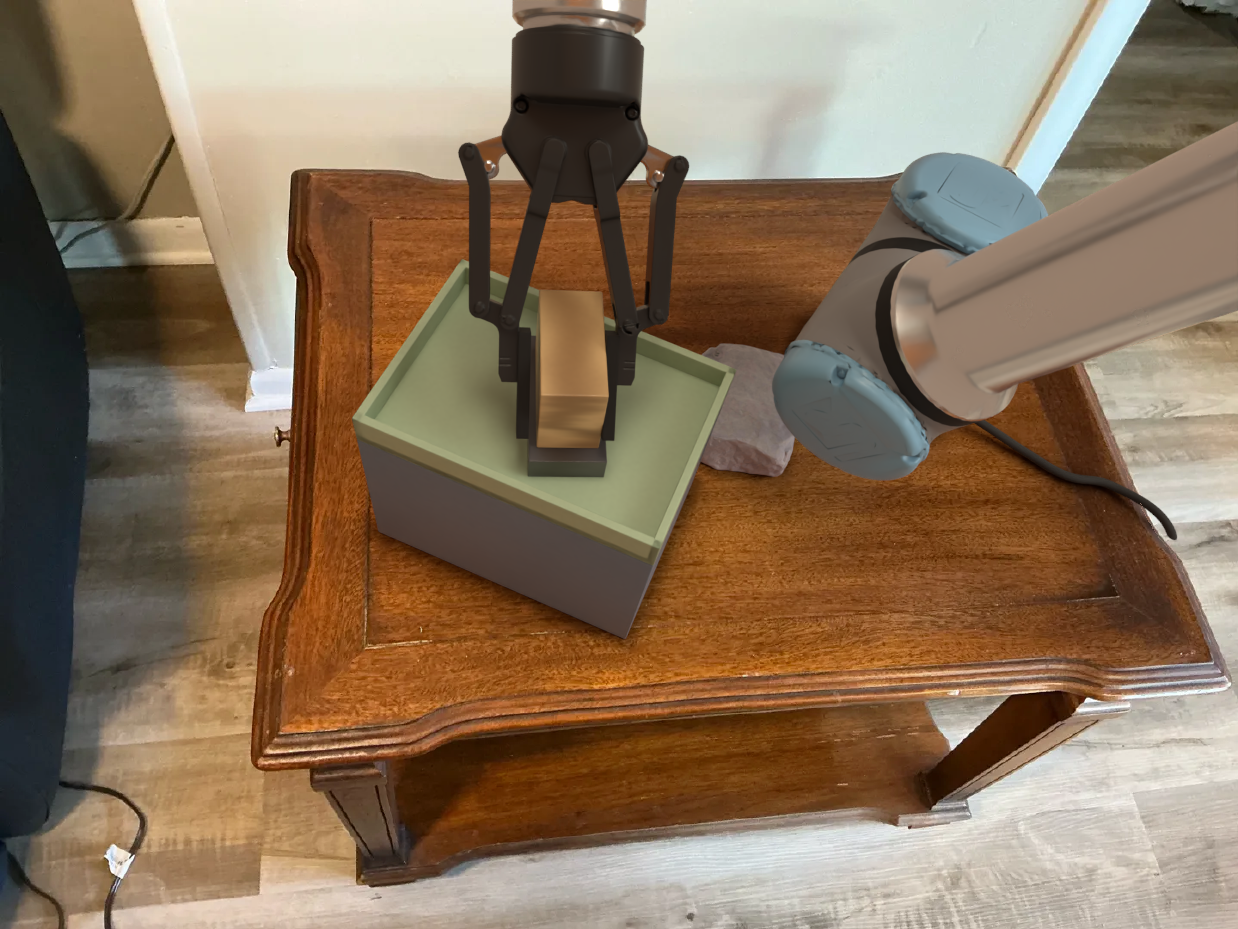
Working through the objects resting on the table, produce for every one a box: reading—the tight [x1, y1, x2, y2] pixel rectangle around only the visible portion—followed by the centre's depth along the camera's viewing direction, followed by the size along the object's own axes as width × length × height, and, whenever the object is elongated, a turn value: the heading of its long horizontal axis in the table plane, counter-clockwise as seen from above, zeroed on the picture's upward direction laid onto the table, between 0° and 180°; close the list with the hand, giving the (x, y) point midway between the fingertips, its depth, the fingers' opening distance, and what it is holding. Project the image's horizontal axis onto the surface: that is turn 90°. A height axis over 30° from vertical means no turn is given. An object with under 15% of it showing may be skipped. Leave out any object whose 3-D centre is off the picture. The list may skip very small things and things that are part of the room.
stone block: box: [700, 343, 796, 478], centre depth 82 cm, size 12×5×10 cm
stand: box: [356, 395, 727, 640], centre depth 70 cm, size 21×15×14 cm
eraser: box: [527, 289, 609, 477], centre depth 60 cm, size 5×10×8 cm, turn 3°
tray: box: [351, 258, 736, 566], centre depth 63 cm, size 21×15×3 cm
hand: (564, 434), depth 58 cm, fingers open, 5 cm apart
